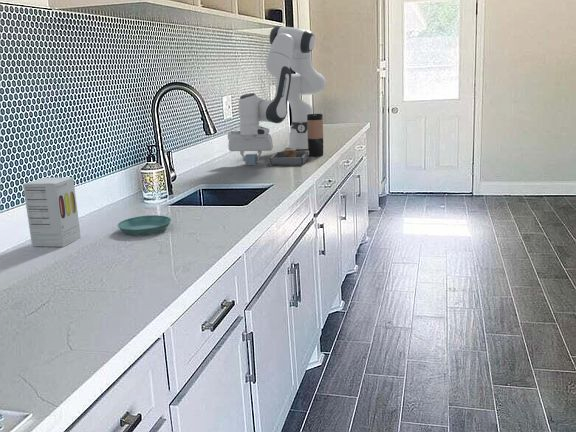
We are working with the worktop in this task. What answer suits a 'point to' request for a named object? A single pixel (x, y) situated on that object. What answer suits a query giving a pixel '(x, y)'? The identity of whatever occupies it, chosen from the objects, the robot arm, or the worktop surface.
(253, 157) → the slate block
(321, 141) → the travel mug
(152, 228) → the saucer
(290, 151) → the walnut block
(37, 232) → the supplement box
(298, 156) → the charcoal tray
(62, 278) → the worktop surface
